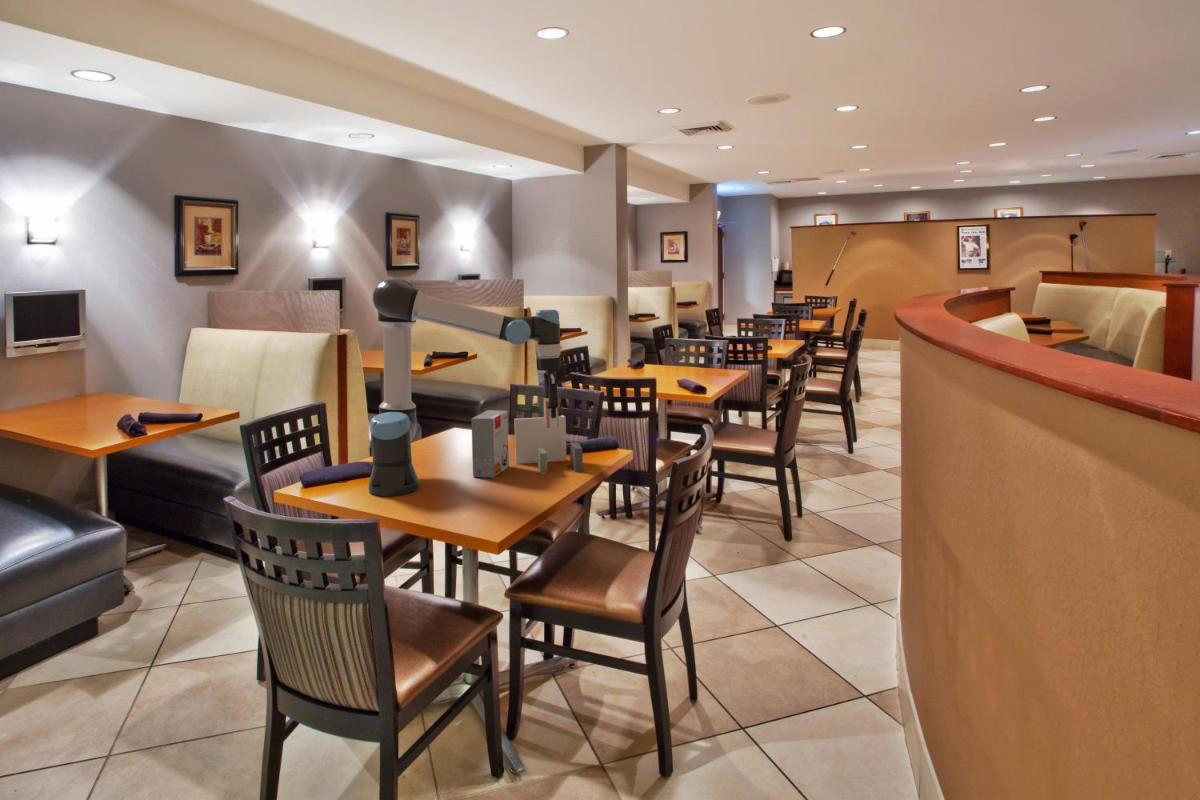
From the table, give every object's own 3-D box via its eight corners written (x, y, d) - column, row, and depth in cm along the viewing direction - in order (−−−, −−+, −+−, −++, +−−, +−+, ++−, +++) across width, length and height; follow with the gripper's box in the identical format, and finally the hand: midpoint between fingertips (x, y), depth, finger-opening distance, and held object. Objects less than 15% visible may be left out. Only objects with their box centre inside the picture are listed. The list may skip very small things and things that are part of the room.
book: (546, 428, 233) (545, 401, 232) (544, 424, 239) (543, 398, 238) (558, 427, 234) (557, 400, 233) (556, 423, 240) (555, 397, 238)
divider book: (541, 474, 235) (540, 453, 234) (538, 467, 243) (537, 448, 242) (547, 473, 236) (546, 453, 234) (544, 467, 243) (543, 447, 242)
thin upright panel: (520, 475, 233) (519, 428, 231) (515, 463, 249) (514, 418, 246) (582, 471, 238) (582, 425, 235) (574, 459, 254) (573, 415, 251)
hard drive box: (494, 478, 230) (492, 419, 227) (472, 477, 232) (469, 418, 228) (509, 466, 245) (507, 410, 242) (489, 465, 247) (486, 409, 243)
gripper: (565, 359, 224) (567, 430, 228) (556, 353, 242) (558, 418, 247) (541, 360, 223) (544, 431, 227) (534, 354, 241) (537, 420, 245)
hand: (552, 425), depth 237 cm, fingers closed on book, 6 cm apart
